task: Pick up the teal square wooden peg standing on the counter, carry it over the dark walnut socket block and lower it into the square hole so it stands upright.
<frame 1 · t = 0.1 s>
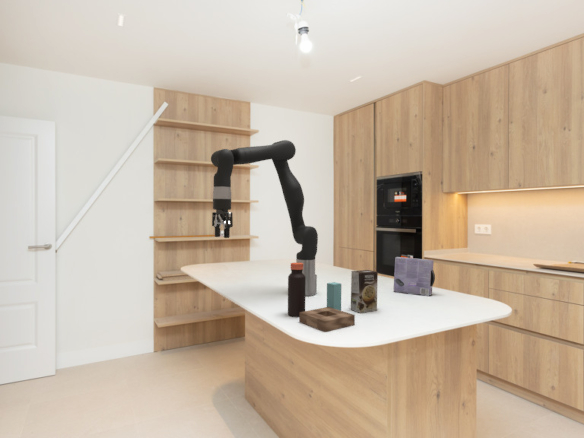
hand: (221, 237, 155), 29 cm above the table, tool pointing down, fingers open, 8 cm apart
cake pan box: (413, 293, 187), on the table
coffee box: (363, 310, 153), on the table
peg: (333, 313, 147), on the table
socket block: (326, 323, 134), on the table
bottle: (296, 315, 146), on the table
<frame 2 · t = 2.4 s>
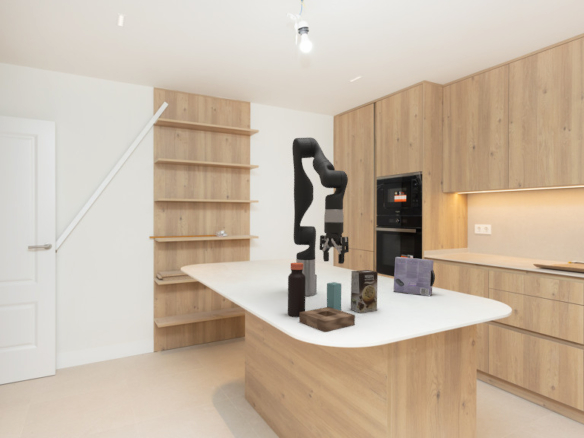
hand: (333, 262, 147), 20 cm above the table, tool pointing down, fingers open, 8 cm apart
nothing on the table moved.
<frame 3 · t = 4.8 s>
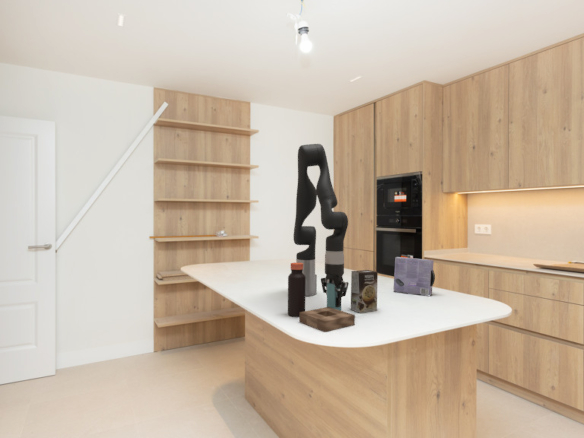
hand: (333, 305, 147), 3 cm above the table, tool pointing down, fingers closed on peg, 4 cm apart
peg: (333, 313, 147), on the table, touching gripper
everything else where it was.
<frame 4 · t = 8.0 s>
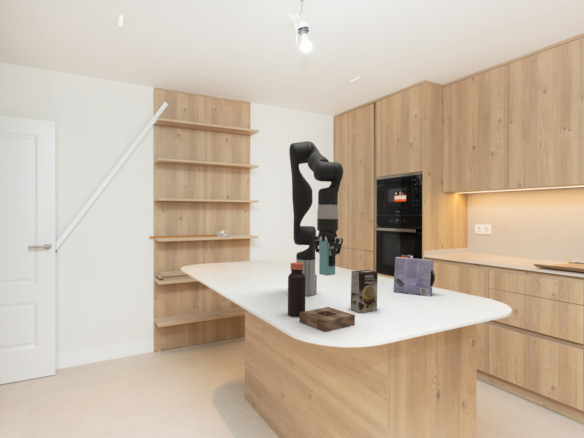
hand: (327, 265, 134), 21 cm above the table, tool pointing down, fingers closed on peg, 4 cm apart
peg: (327, 274, 134), point 18 cm above the table, touching gripper
everything else where it was.
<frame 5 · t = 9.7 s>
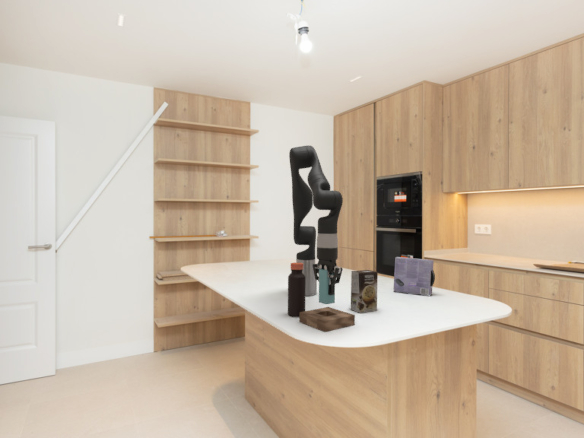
hand: (326, 293, 134), 11 cm above the table, tool pointing down, fingers closed on peg, 4 cm apart
peg: (326, 302, 134), point 7 cm above the table, touching gripper
everything else where it was.
when the fingers open (5 cm above the table, at t = 11.2 s): peg drops 2 cm, resting in socket block.
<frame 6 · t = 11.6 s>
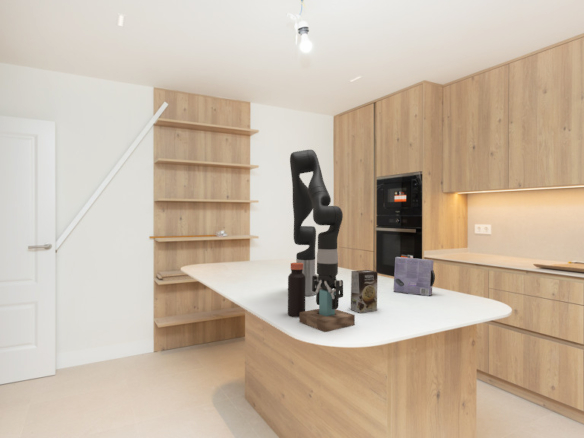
hand: (326, 306, 134), 6 cm above the table, tool pointing down, fingers open, 8 cm apart
peg: (326, 323, 135), resting in socket block
everything else where it was.
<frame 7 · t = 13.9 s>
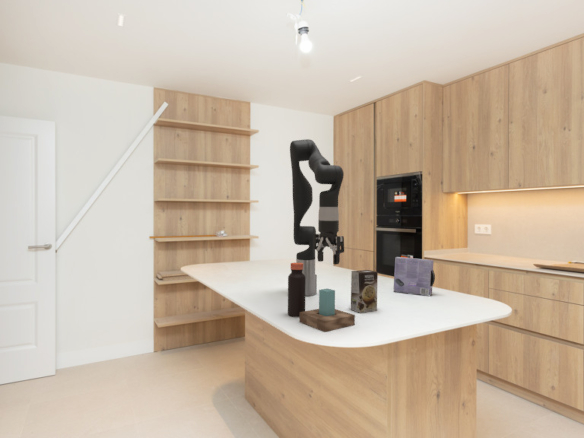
hand: (328, 262, 139), 21 cm above the table, tool pointing down, fingers open, 8 cm apart
nothing on the table moved.
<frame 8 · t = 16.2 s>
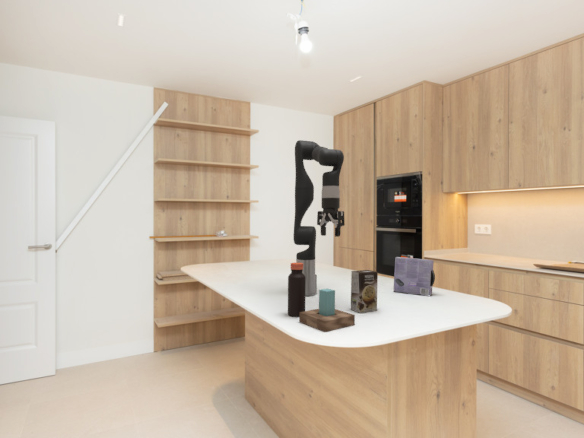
hand: (330, 236, 156), 30 cm above the table, tool pointing down, fingers open, 8 cm apart
nothing on the table moved.
at the end: peg 0.0 cm off-centre on the socket block, point 0.0 cm above the socket block's base; peg tilted 0°; the gripper is holding nothing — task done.
